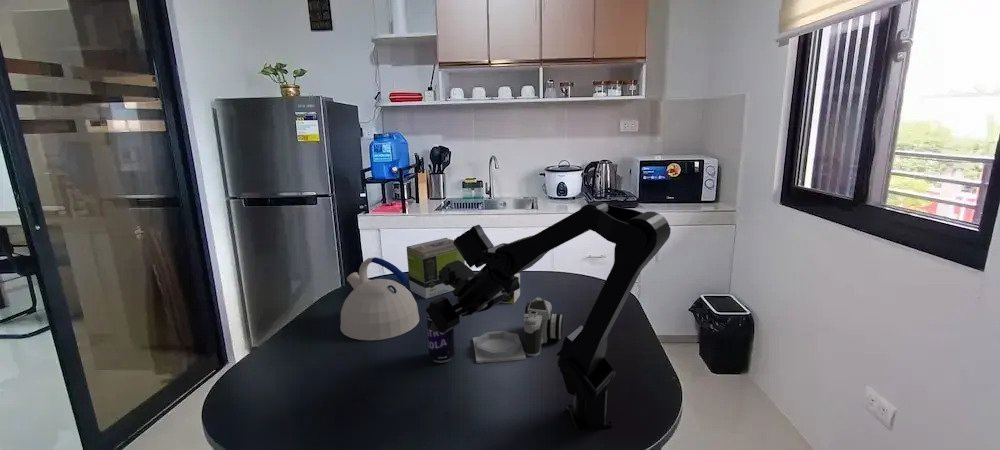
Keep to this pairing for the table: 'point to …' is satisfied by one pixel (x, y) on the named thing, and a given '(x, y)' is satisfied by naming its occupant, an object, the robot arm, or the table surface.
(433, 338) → the beverage can
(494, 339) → the mount
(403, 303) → the kettle
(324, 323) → the table surface
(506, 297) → the medicine bottle
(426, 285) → the tea box
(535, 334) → the camera
